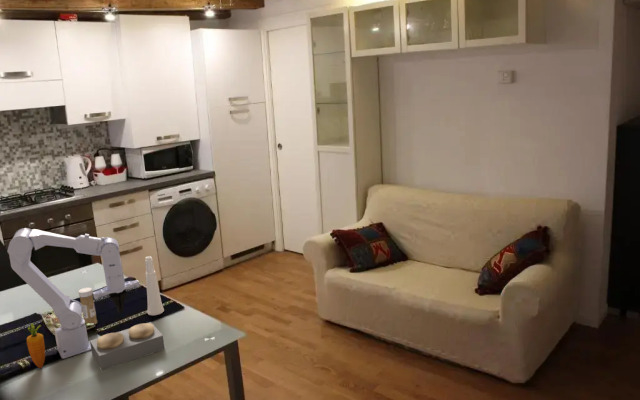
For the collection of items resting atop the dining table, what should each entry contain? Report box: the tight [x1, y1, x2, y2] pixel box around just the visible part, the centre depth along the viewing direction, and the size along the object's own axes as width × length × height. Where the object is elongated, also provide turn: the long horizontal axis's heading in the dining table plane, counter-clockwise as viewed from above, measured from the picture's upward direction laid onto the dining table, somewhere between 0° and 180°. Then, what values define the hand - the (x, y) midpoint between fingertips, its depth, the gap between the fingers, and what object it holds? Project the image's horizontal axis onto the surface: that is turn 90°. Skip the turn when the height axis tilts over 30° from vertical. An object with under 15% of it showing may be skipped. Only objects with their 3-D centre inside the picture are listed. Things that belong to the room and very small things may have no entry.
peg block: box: [89, 321, 166, 371], centre depth 181 cm, size 20×12×5 cm, turn 125°
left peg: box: [96, 332, 124, 350], centre depth 178 cm, size 8×8×6 cm
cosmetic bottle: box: [144, 255, 165, 316], centre depth 206 cm, size 6×6×22 cm
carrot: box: [26, 323, 46, 369], centre depth 172 cm, size 5×5×15 cm
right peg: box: [128, 322, 155, 339], centre depth 183 cm, size 8×8×6 cm
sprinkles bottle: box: [78, 287, 98, 325], centre depth 200 cm, size 5×5×13 cm
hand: (120, 312), depth 187 cm, fingers closed
